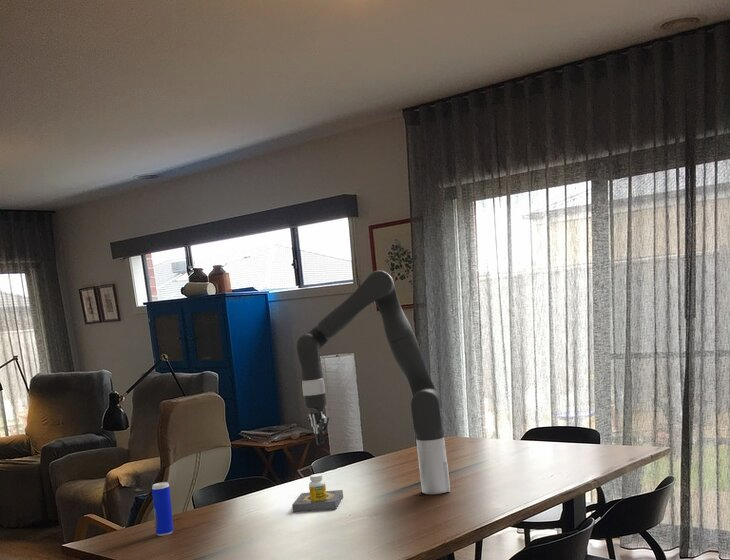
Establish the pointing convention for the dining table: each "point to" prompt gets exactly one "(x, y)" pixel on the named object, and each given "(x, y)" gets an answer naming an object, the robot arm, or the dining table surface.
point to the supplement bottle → (317, 487)
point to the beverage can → (162, 508)
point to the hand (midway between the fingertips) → (320, 444)
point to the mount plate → (317, 502)
